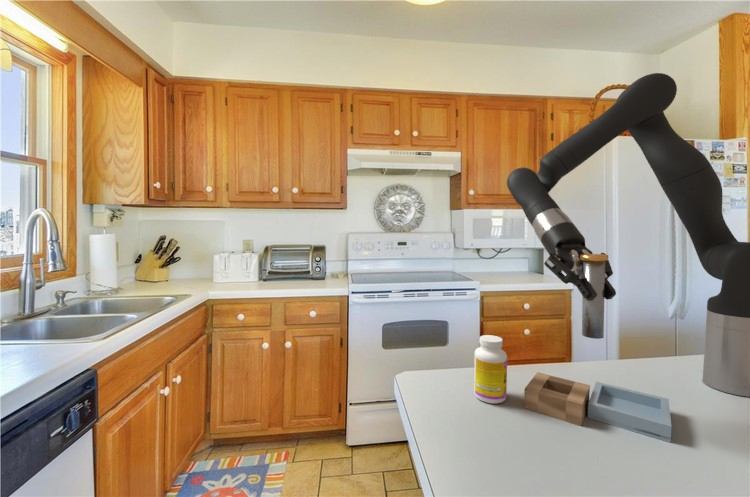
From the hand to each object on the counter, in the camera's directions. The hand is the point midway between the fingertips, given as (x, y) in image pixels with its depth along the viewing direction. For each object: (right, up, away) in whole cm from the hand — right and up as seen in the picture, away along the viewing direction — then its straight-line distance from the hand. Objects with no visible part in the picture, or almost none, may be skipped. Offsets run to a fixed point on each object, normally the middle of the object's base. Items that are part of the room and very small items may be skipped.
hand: (602, 297), depth 64 cm
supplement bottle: (-19, -23, +9) cm, 31 cm away
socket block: (-6, -23, +5) cm, 24 cm away
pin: (0, -8, +2) cm, 8 cm away
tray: (+6, -23, +1) cm, 24 cm away
